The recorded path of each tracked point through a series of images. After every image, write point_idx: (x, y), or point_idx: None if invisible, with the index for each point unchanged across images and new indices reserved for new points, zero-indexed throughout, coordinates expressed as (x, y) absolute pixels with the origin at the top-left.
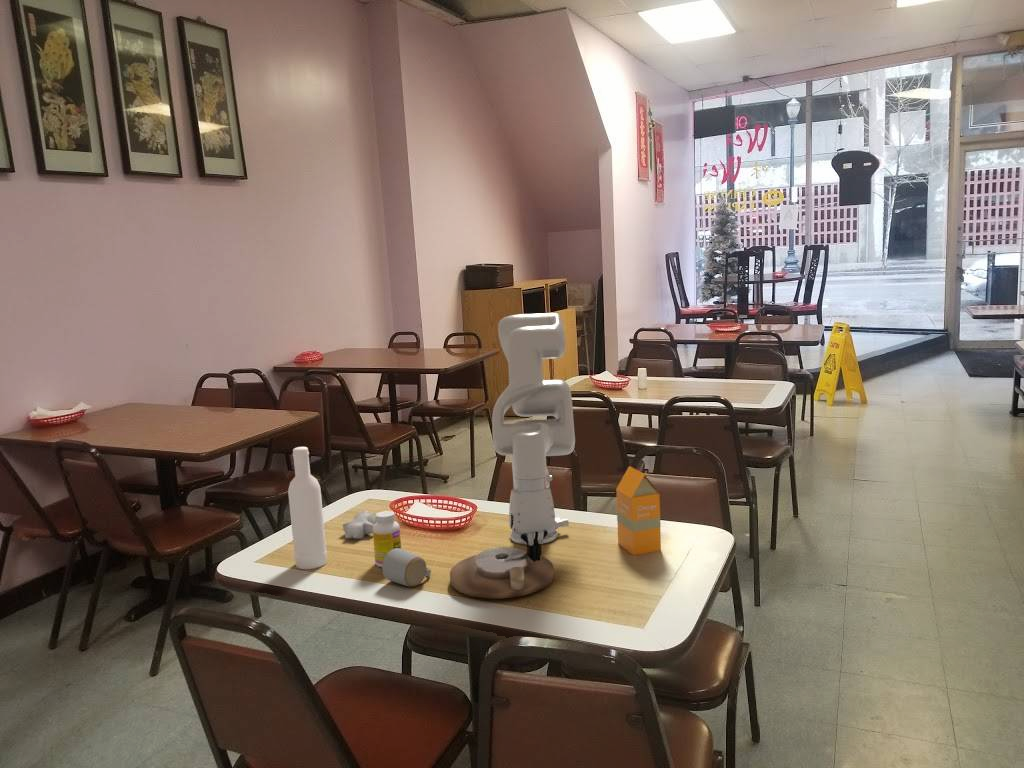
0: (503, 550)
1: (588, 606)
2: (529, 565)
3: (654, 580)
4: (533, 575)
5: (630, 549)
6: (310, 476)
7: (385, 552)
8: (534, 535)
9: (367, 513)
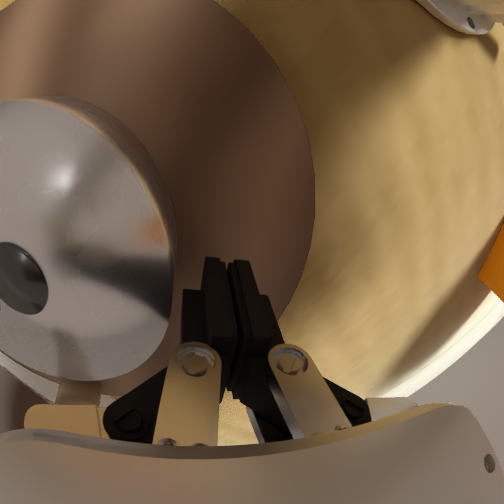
0: (37, 185)
1: (222, 422)
2: (183, 274)
3: (389, 380)
4: (153, 356)
5: (490, 266)
6: None
7: None
8: (275, 391)
9: None
